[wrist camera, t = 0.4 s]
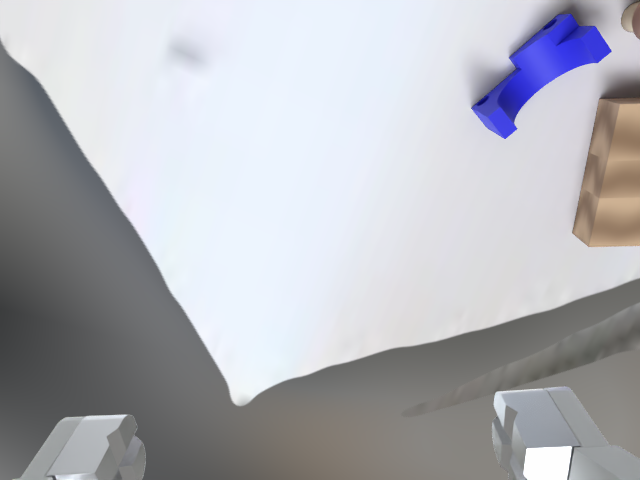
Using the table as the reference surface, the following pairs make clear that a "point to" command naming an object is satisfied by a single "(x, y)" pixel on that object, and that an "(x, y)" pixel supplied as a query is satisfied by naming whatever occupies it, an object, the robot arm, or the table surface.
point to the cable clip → (540, 69)
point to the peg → (632, 19)
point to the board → (612, 178)
